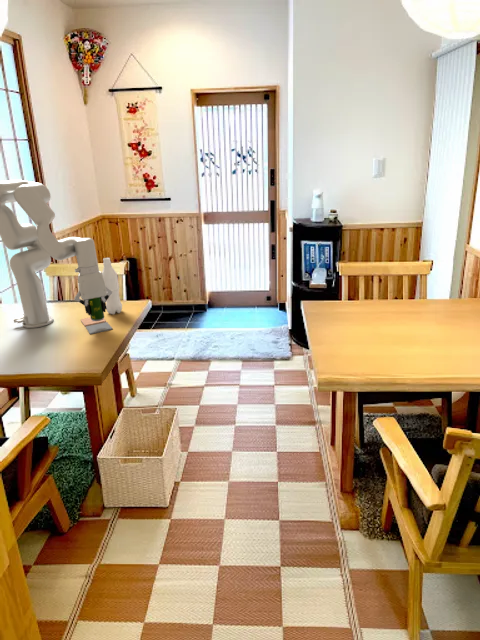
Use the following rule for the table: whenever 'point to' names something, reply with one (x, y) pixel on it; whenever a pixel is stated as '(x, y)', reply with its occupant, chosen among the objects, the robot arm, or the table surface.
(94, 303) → the beer can
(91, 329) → the slate coaster
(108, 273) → the water bottle
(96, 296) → the robot arm
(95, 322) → the terracotta coaster
